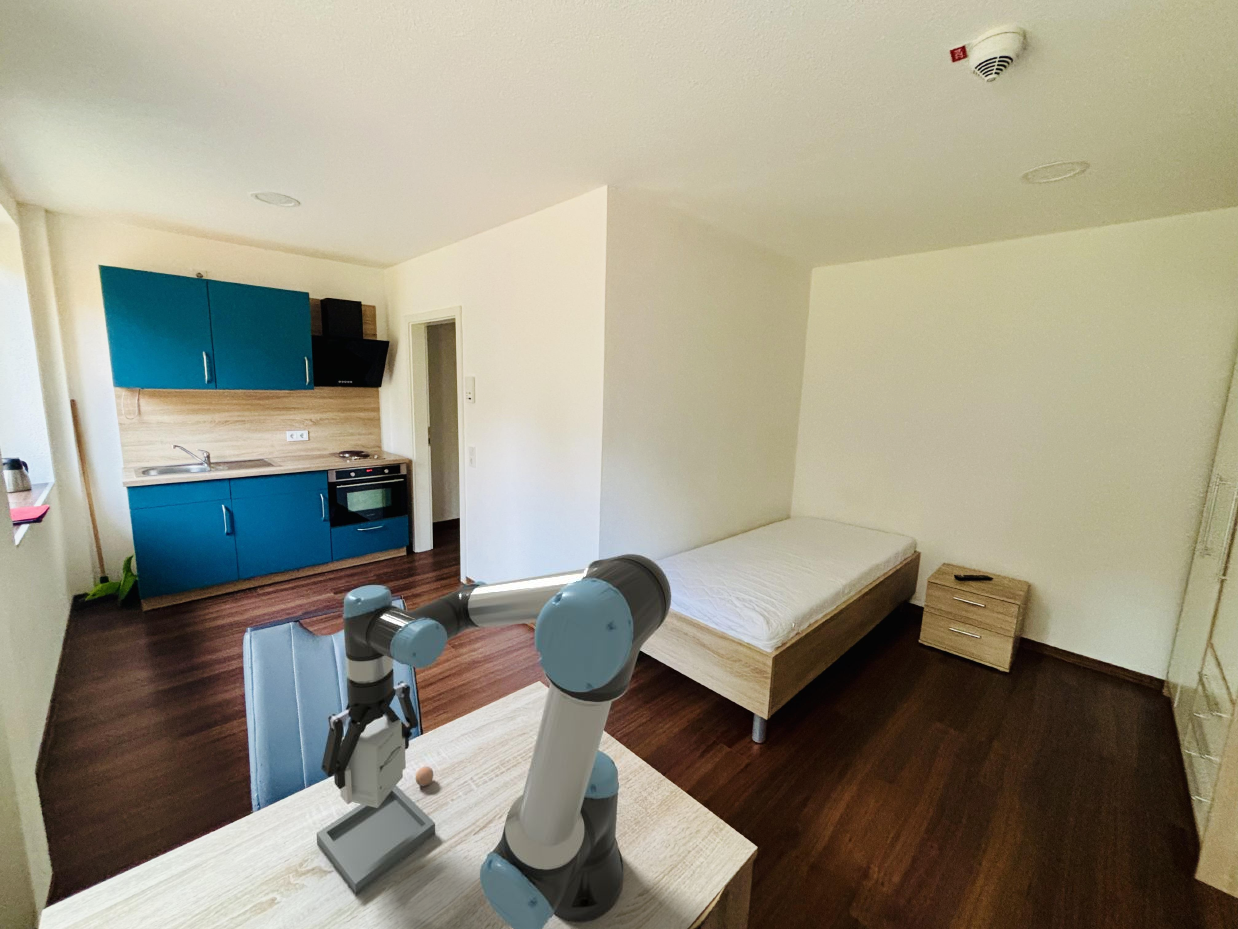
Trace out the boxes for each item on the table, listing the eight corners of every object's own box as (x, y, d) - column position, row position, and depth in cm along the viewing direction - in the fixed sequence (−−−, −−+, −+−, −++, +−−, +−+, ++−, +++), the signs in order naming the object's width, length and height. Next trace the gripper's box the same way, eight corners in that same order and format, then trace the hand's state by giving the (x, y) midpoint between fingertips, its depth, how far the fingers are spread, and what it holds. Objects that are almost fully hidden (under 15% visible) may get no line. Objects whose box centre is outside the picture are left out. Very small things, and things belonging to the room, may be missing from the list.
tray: (435, 834, 95) (435, 823, 94) (355, 896, 83) (355, 884, 82) (394, 793, 104) (393, 783, 103) (317, 844, 92) (316, 833, 91)
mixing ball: (436, 782, 107) (436, 768, 106) (421, 793, 104) (421, 778, 103) (427, 774, 109) (427, 760, 108) (412, 784, 106) (412, 769, 106)
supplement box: (378, 809, 87) (375, 746, 85) (342, 800, 89) (339, 738, 87) (404, 777, 94) (402, 719, 92) (370, 769, 96) (368, 711, 94)
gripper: (415, 640, 99) (417, 740, 102) (292, 692, 81) (300, 809, 85) (437, 654, 94) (438, 757, 98) (311, 712, 77) (319, 835, 80)
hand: (374, 781), depth 91 cm, fingers closed on supplement box, 9 cm apart
